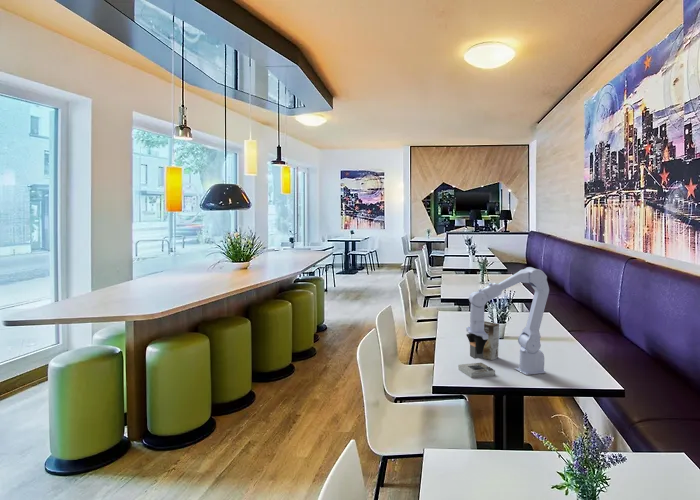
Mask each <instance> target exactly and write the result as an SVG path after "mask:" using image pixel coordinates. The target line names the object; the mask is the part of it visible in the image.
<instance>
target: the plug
mask: <svg viewBox="0 0 700 500" xmlns="http://www.w3.org/2000/svg"><path fill="white" fill-rule="evenodd" d="M469 356H470V357H471V358H473V359H475V360H476V359H484V358H483V352H482V354H477V351H476V343H475V342H469Z"/></svg>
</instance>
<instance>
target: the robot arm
mask: <svg viewBox="0 0 700 500" xmlns="http://www.w3.org/2000/svg"><path fill="white" fill-rule="evenodd" d="M520 283H522V284H523V283H525V284H529V285H530V286H531V288H532V289H533V290H534V294H533V297H532V302H531V305H530V309H529V314H528V318H527V321H526V325H525V326H524V328H523V329H522V331H521V333H520V334H519V336H518V337H517V342H518V344H519V346H520V347H519V367H515V368H514V370H516V371H518V372H520V373H522V374H523V375H526V376H529V375H537V374H538V375H539V374H545V373H546V371H545V355H544V352H543V351H542V350H541V346H542V345H541V333H540V328H541V325H542V321H543V316H544V312H545V308H546V304H547V301H548V298H549V293H550V287H549V283H548V276H547V275H546V273H545V272H544V271H543V270H541V269H538V268H534V267H532V266H528V267H525V268H524V269H523V268H522V269H519V271H517V272H516V273H514V274H512V275H511V276H509V277H507V278H505V279H503V280H502V281H500V282H499V283H496V282H489V283H488V285H487V286H484V287H483V288H478V290H477V291H473V292H471V293H470V294H469V297H468V300H469V303H470V310H469V311H470V313H469V318H470V319H469V326H466V327H465V328H466V330H465V331H466V334H465V335H466V337H467V339H468V342H469V343H470V342H475V343H476V351H477V354H482V352H483V349H484V346H485V343H486V342H487V340H488V334H486V332H485V331H484V321H485V307H486V304H487V302H490V301H491V300H493V299H496V298H498V297H499V296H501V295H502V292H504V290H506V289H509V288H511V287H513V286H515V285H517V284H520Z"/></svg>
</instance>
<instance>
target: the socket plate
mask: <svg viewBox="0 0 700 500" xmlns="http://www.w3.org/2000/svg"><path fill="white" fill-rule="evenodd" d="M458 370H459V371H460V372H461V373H463V374H465V375H467V376H468V377H469V378H471V379H473V378H481V377H482V378H483V377H491V376H496V369H493V367H491V366H488V365H486V364H484V363H483V362H474V363H473V362H472V363H465V364H458Z"/></svg>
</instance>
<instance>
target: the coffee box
mask: <svg viewBox="0 0 700 500" xmlns="http://www.w3.org/2000/svg"><path fill="white" fill-rule="evenodd" d="M484 331H485V332H486V334H488V340H487V342H486V343H485V346H484V349H483V358H482V359H484V360H490V361H495V360H496V359H497V358H499V345H500V344H499V339H500V324H499V323H495V322H489V321H485V320H484Z"/></svg>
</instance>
